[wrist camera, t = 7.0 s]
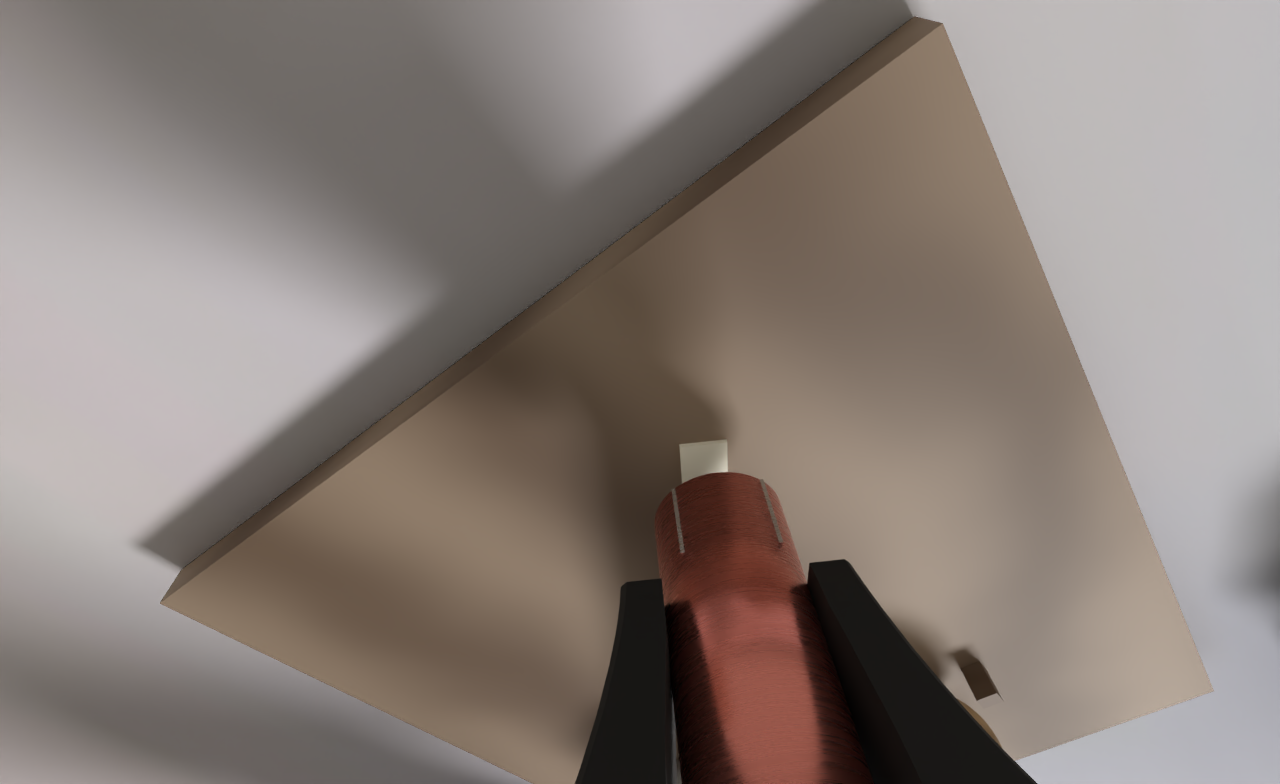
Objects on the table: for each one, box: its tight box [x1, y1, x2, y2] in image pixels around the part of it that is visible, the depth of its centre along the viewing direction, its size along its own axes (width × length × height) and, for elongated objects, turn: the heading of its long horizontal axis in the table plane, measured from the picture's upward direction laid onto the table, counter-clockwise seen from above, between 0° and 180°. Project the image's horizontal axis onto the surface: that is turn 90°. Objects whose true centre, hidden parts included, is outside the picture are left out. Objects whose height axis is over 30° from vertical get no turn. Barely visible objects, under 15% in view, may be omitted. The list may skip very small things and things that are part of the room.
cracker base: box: [160, 17, 1214, 784], centre depth 17 cm, size 20×24×4 cm
